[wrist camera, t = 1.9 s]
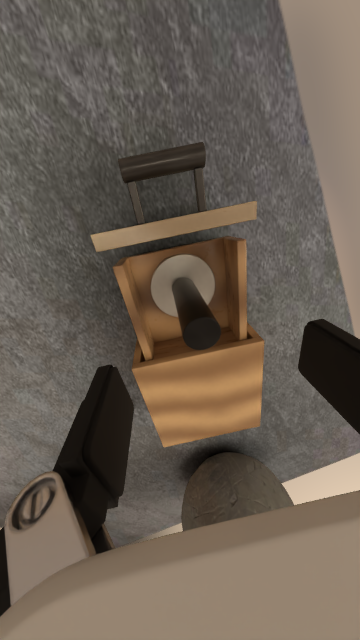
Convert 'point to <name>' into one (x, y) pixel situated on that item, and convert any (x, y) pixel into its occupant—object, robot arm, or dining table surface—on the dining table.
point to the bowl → (230, 491)
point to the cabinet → (203, 389)
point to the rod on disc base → (187, 298)
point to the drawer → (220, 253)
